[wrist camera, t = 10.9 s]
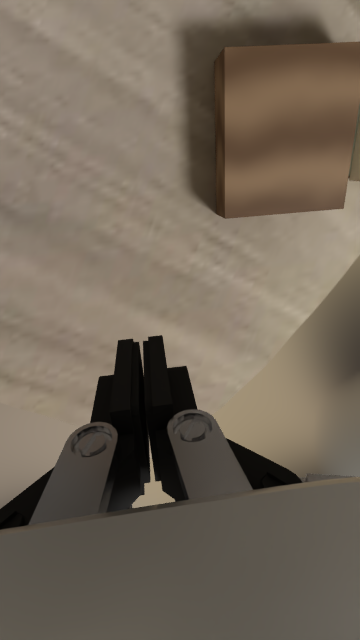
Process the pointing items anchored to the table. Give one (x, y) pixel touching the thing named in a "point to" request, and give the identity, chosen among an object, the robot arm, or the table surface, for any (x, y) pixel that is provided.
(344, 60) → the flat brown wooden block
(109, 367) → the table surface
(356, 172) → the cream rectangular block
